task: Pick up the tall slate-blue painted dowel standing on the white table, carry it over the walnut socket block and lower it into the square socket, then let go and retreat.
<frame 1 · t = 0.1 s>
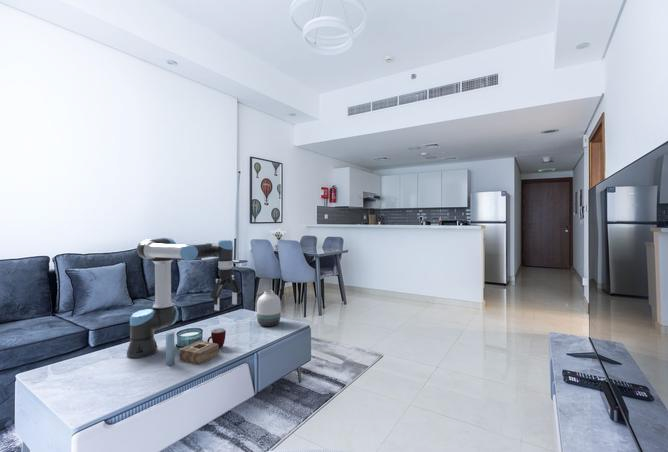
hand: (226, 307, 176), 28 cm above the table, fingers open, 13 cm apart
socket block: (199, 357, 178), on the table
mug: (216, 348, 191), on the table
peg: (170, 363, 170), on the table
vase: (268, 324, 235), on the table
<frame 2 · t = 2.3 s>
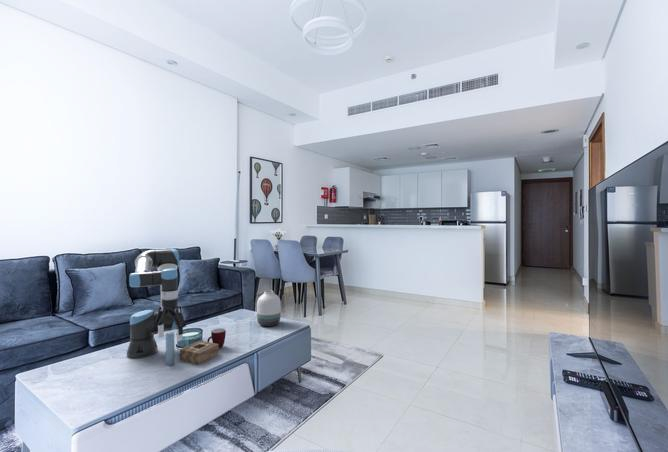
hand: (170, 339, 169), 13 cm above the table, fingers open, 13 cm apart
nothing on the table moved.
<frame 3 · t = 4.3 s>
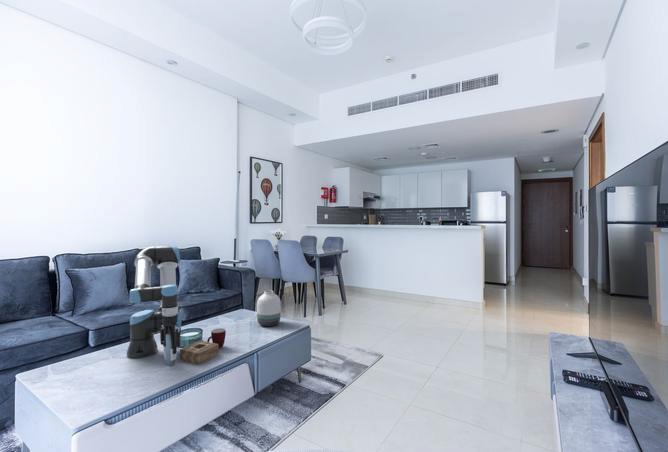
hand: (170, 358, 170), 3 cm above the table, fingers closed on peg, 4 cm apart
peg: (170, 363, 170), on the table, touching gripper
everything else where it was.
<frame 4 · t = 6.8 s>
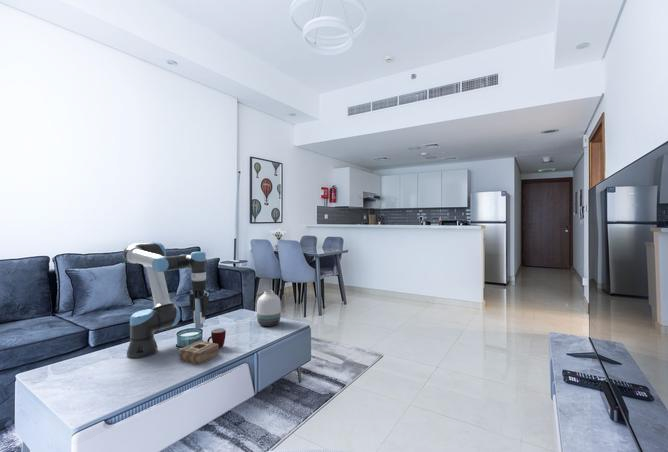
hand: (199, 322, 177), 19 cm above the table, fingers closed on peg, 4 cm apart
peg: (199, 327, 177), point 17 cm above the table, touching gripper
everything else where it was.
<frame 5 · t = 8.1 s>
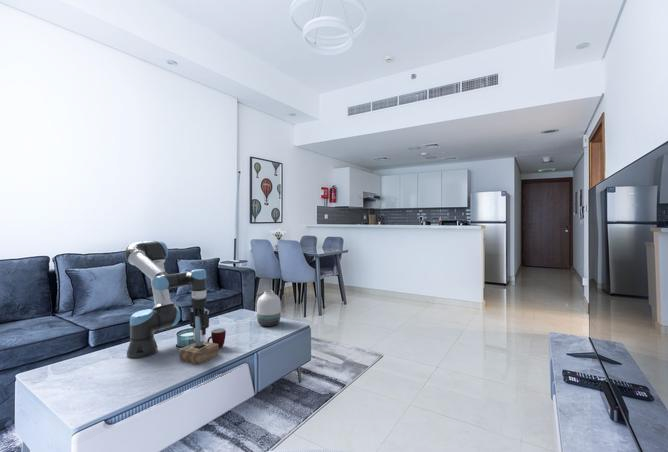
hand: (199, 340, 177), 10 cm above the table, fingers closed on peg, 4 cm apart
peg: (199, 344, 177), point 7 cm above the table, touching gripper
everything else where it was.
when the fingers open (7 cm above the table, at t = 9.2 s): peg drops 5 cm, resting in socket block.
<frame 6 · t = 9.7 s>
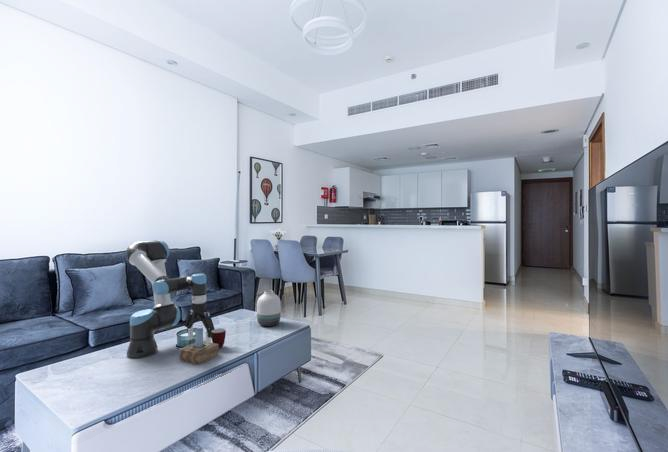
hand: (199, 341, 177), 9 cm above the table, fingers open, 12 cm apart
peg: (199, 357, 178), resting in socket block
everything else where it was.
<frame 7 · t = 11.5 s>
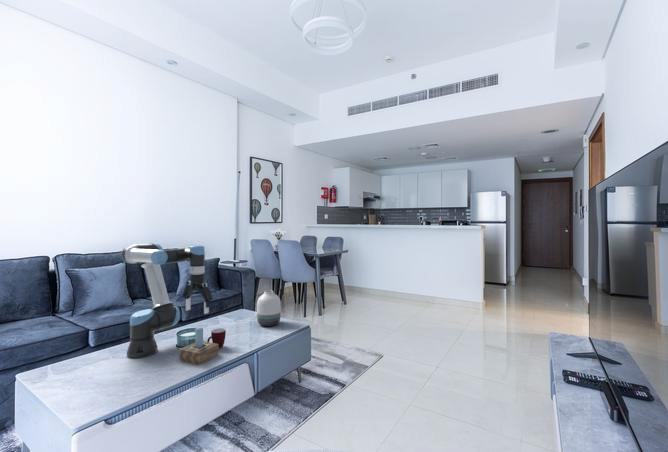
hand: (197, 311, 179), 25 cm above the table, fingers open, 13 cm apart
nothing on the table moved.
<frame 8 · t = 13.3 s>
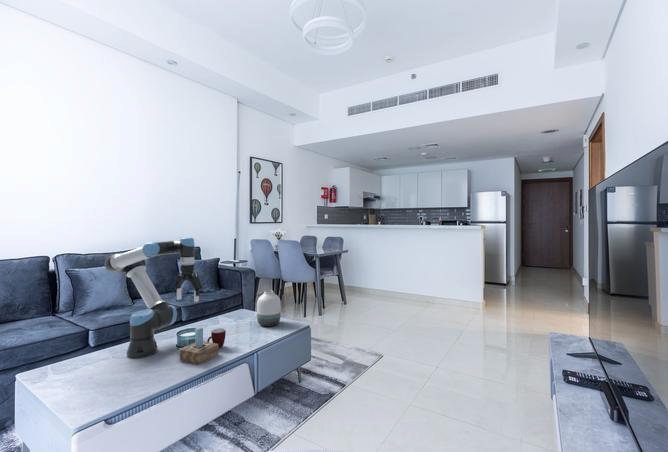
hand: (187, 300, 189), 29 cm above the table, fingers open, 13 cm apart
nothing on the table moved.
at the end: peg 0.1 cm off-centre on the socket block, point 0.0 cm above the socket block's base; peg tilted 0°; the gripper is holding nothing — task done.
